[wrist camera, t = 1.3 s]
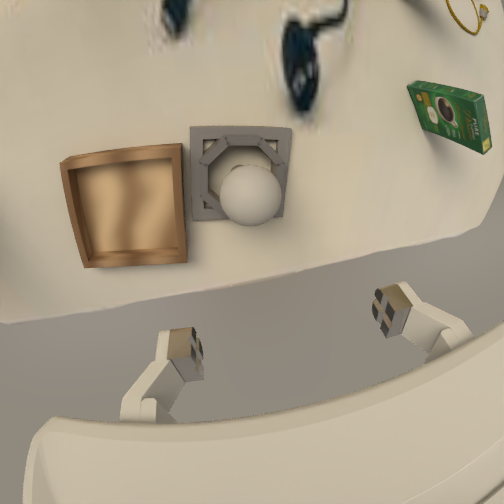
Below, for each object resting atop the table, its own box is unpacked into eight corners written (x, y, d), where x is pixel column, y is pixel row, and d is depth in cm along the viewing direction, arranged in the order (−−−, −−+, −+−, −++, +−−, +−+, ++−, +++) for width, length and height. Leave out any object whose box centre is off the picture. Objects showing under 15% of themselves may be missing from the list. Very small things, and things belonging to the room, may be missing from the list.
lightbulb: (226, 202, 35) (238, 247, 26) (206, 162, 32) (210, 193, 23) (269, 183, 35) (297, 221, 26) (252, 141, 31) (276, 164, 22)
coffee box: (432, 124, 33) (494, 148, 22) (422, 131, 34) (484, 157, 23) (416, 79, 29) (484, 91, 18) (405, 85, 29) (473, 99, 19)
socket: (192, 217, 36) (192, 226, 33) (190, 126, 29) (189, 129, 27) (280, 214, 38) (286, 222, 36) (289, 127, 31) (296, 130, 29)
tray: (90, 256, 35) (84, 268, 33) (69, 156, 27) (59, 163, 25) (187, 250, 38) (187, 262, 36) (181, 143, 30) (180, 147, 27)
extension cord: (491, 39, 23) (498, 40, 22) (451, 30, 24) (459, 30, 22) (476, -10, 16) (483, -10, 15) (432, -27, 17) (439, -29, 15)
